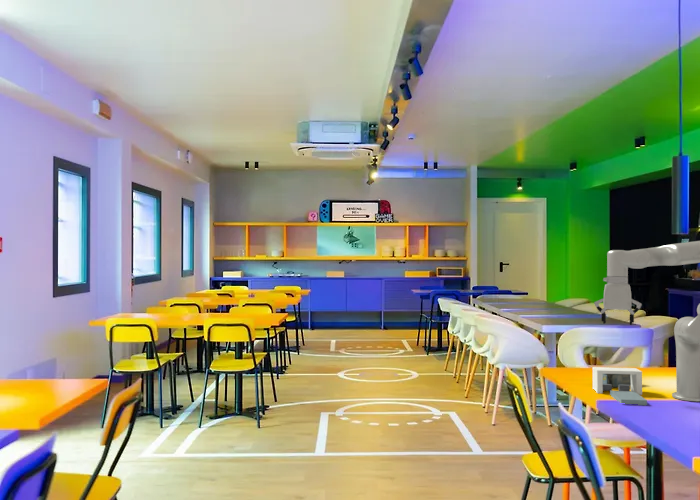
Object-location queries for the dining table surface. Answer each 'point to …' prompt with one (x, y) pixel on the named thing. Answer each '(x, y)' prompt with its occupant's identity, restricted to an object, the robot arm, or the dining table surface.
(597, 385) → the shelf
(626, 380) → the beverage carton
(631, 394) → the panel
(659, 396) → the dining table surface
